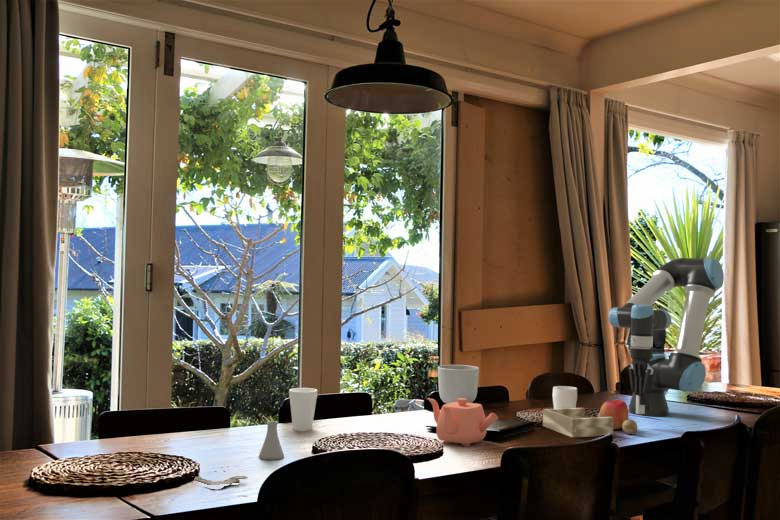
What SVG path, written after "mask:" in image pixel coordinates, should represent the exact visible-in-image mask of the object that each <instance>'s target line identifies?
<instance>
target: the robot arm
mask: <svg viewBox="0 0 780 520" xmlns="http://www.w3.org/2000/svg"><path fill="white" fill-rule="evenodd" d="M724 277H725V275H724V269H723V267H722V265H721V263H720V261H719V260H718V259H716V258H709V257H701V258H700V257H687V258H686V257H679V258H675V259H672V260H670V261H668V262H666V263H664V264H663V265H660V267H658V268H657V269H656V270H655V271H653V273H652V274H651V277H650V279H648V281H647V282H646V283H645V284H644V285H643V286H642V287H641V288H640V289H639V290H638V291H637V292H635V293H634V295H633V296H631V297H630V299H628V300H627V301H626V302H625V303H624V304H623V305H622V306H621V307H619V306H617V307H612V308H611V309H610V310H609V312H608V322H609V324H610V325H611V326H612V327H615V328H620V329H622V328H623V329H630V346H631V348H630V350H629V351H630V355H629V356H630V358H631V359H632V361H631V364H628V365H627V370H628V375H629V384H630V390H631V392H632V396H631V398H630V401H629V405H628V413H631V414H634V415H635V414H636V415H640V416H646V417H647V416H648V417H664V416H668V415H669V414H670V409H669V405H668V402H667V399H666V398H667V397H666V395H665V389H666V390H673V391H679V392H684V393H688V392H689V393H692V392H693V393H694V392H698V391H699V389H701V388H702V386H703V385H704V383H705V380H706V376H707V371H706V369H707V368H706V366H705V364H704V363H703V362H702V361H703V359H702V357H701V356H700V351H701V349H700V348H701V344H702V339H703V338H702V337H703V333H704V330H705V329H704V328H705V324H706V318H707V313H708V307H709V302H710V298H711V297H712V296H714V295H715V292H716V290H717V289H719V288H721V287H722V286H723V285H724V281H725V279H724ZM678 287H680V288H681V287H683V290H684V292H685V293H686V295H685V299H684V305H683V308H682V309H683V310H682V316H681V320H680V325H679V330H678V334H677V338H676V344H675V349H674V350H672V351H671V352H670V355H669V358H666V355H665V354H662V353H660V354H653V346H654V345H653V344H654V340H653V339H654V333H653V332H654V331H663V330H667V329H668V328H669V327H670V326H671V324H672V316H671V314H670V313H669V312H668V311H667V310H665V309H660V308H659V309H654V307H653V305H654V304H655V303H656V302H657V301H658V300H659V299H660V298H661V296H663V295H664V294H665V293H666V292H670V291H671V290H673V288H678Z"/></svg>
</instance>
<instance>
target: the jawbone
mask: <svg viewBox="0 0 780 520" xmlns="http://www.w3.org/2000/svg"><path fill="white" fill-rule="evenodd" d="M194 477H195V478H194V480H195V481H198V482H201V483H204V484H207V485H220V484H232V483H240V484H241V482H240V480H246V479H249V477H247V476H245V475H236V476H232V477H229V478H227V479H225V480H218V481H213V480H210V479H206V478H203V477H201V476H194ZM212 481H213V482H212Z"/></svg>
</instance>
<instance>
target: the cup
mask: <svg viewBox="0 0 780 520" xmlns="http://www.w3.org/2000/svg"><path fill="white" fill-rule="evenodd" d="M551 395H552V405H553V409H560V408H577V401H578V388H577V387H575V386H570V385H569V386H567V385H555V386H553V387H552V393H551Z"/></svg>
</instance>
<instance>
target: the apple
mask: <svg viewBox="0 0 780 520" xmlns="http://www.w3.org/2000/svg"><path fill="white" fill-rule="evenodd" d="M599 413H600V417H614V418H613V430H619V429H621V428H622V424H623V422H624V421H625V420H627V419H629V406H628V404H627V403H626V402H625V401H624V400H619V399H617V400H613V401H611V400H607V401H605V402H603V404H602V405H601V407H600V410H599Z"/></svg>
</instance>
